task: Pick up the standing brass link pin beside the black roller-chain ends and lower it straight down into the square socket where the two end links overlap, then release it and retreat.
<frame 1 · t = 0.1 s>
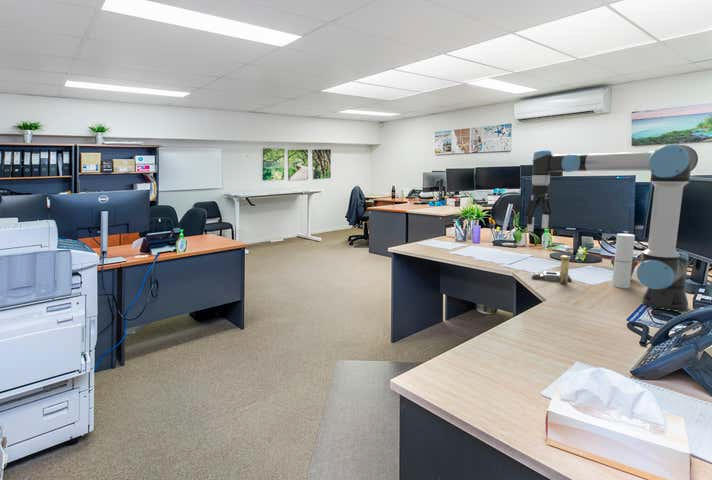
hand: (537, 229, 195), 28 cm above the table, fingers open, 13 cm apart
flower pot: (622, 278, 212), on the table
cylindrical container: (620, 286, 199), on the table
chain ends: (551, 279, 213), on the table
link pin: (563, 283, 204), on the table
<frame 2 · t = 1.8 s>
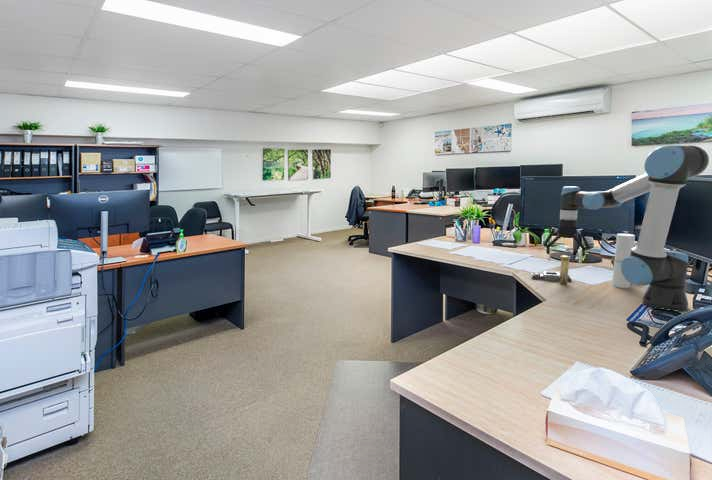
hand: (564, 261, 203), 11 cm above the table, fingers open, 13 cm apart
nothing on the table moved.
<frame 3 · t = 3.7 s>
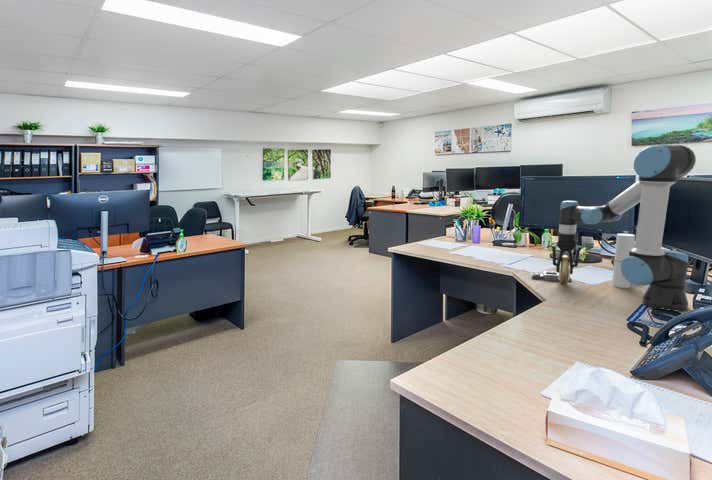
hand: (563, 279, 204), 2 cm above the table, fingers closed on link pin, 3 cm apart
link pin: (563, 283, 204), on the table, touching gripper
everything else where it was.
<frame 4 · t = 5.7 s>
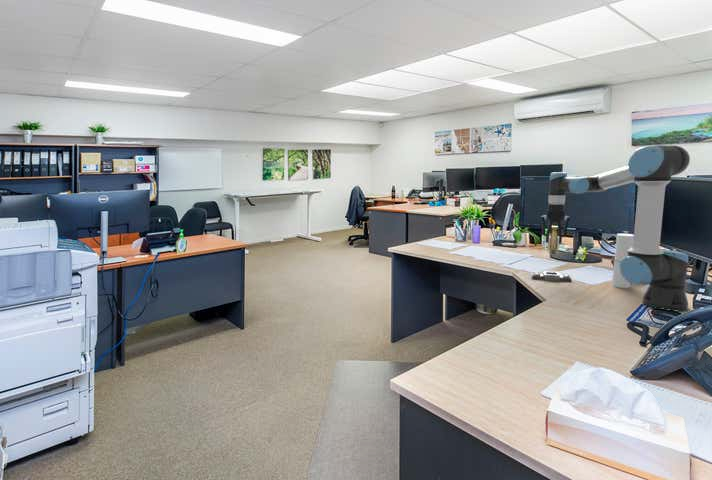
hand: (552, 249, 210), 16 cm above the table, fingers closed on link pin, 3 cm apart
link pin: (552, 253, 211), point 14 cm above the table, touching gripper
everything else where it was.
when the fingers open (4 cm above the table, at t = 7.8 s): link pin drops 2 cm, resting in chain ends.
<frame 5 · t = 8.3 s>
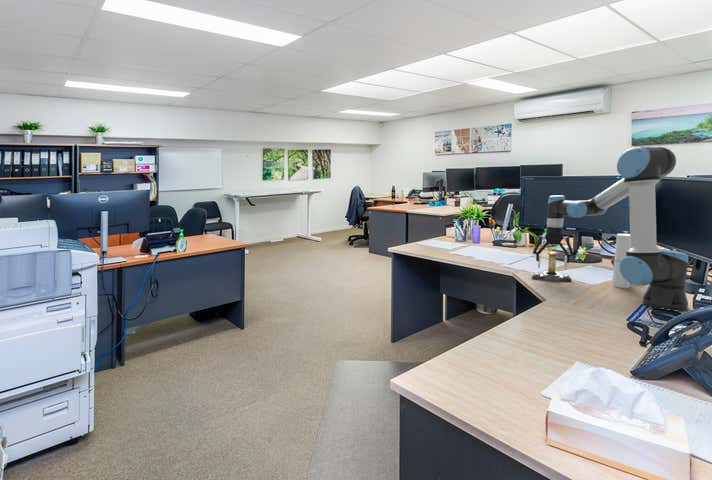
hand: (551, 268, 212), 6 cm above the table, fingers open, 11 cm apart
link pin: (551, 279, 213), resting in chain ends
everything else where it was.
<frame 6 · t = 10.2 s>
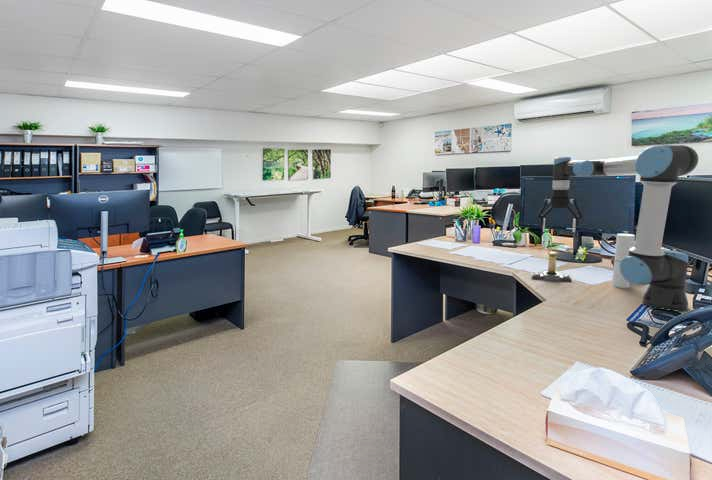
hand: (558, 231, 206), 25 cm above the table, fingers open, 13 cm apart
nothing on the table moved.
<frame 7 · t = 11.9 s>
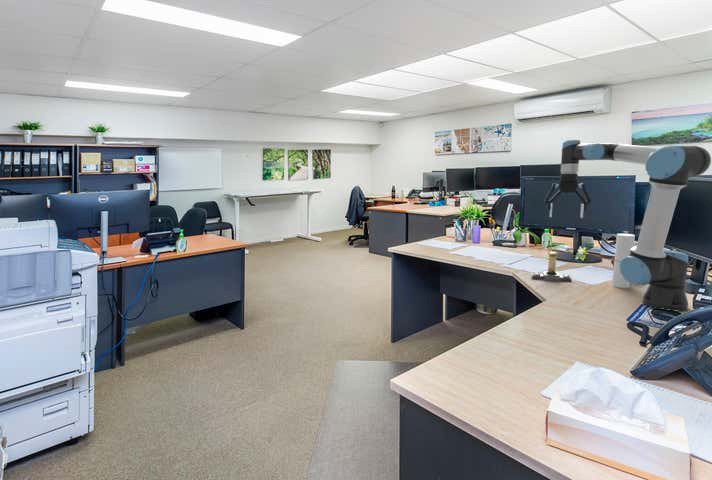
hand: (565, 217, 201), 33 cm above the table, fingers open, 13 cm apart
nothing on the table moved.
at the end: link pin 0.0 cm off-centre on the chain ends, point 0.0 cm above the chain ends's base; link pin tilted 0°; the gripper is holding nothing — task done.
